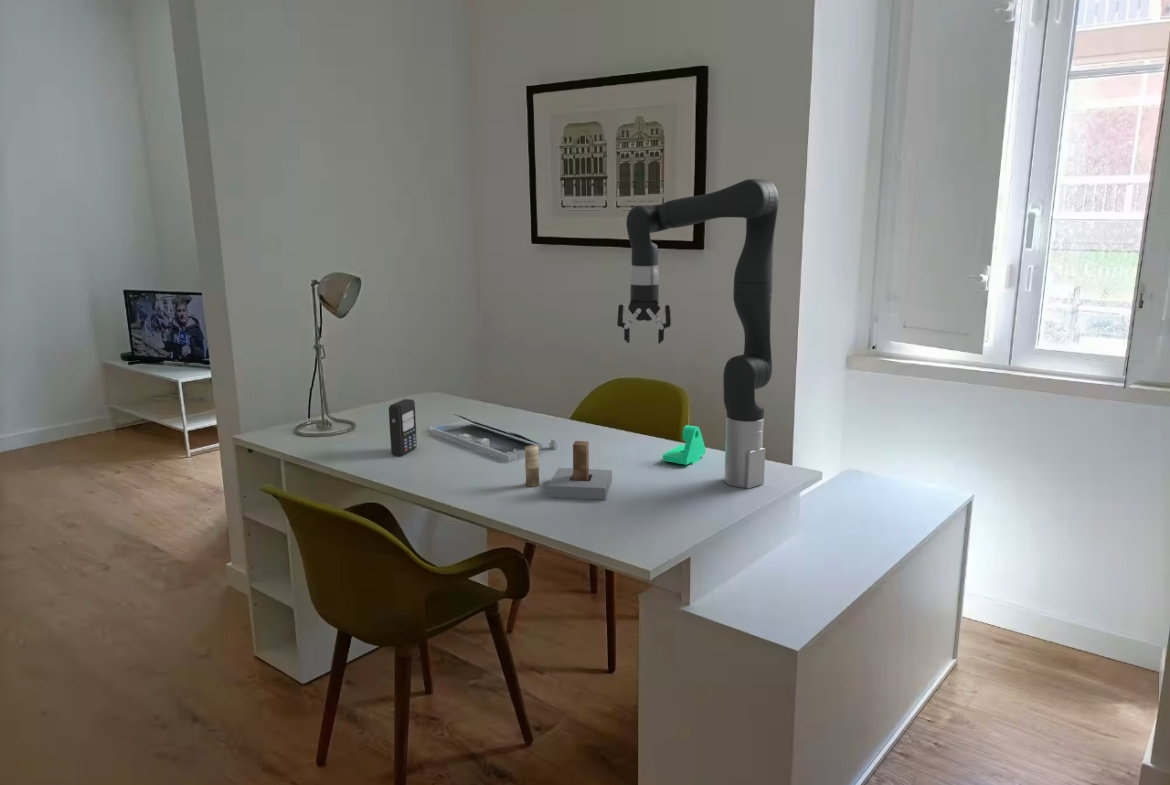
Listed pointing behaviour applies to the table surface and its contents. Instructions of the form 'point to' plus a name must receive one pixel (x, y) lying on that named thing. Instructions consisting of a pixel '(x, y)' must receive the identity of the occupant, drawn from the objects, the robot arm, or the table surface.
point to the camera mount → (687, 447)
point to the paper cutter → (480, 444)
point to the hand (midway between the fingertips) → (643, 342)
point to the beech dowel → (532, 465)
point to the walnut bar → (581, 461)
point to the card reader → (402, 427)
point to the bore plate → (580, 484)
